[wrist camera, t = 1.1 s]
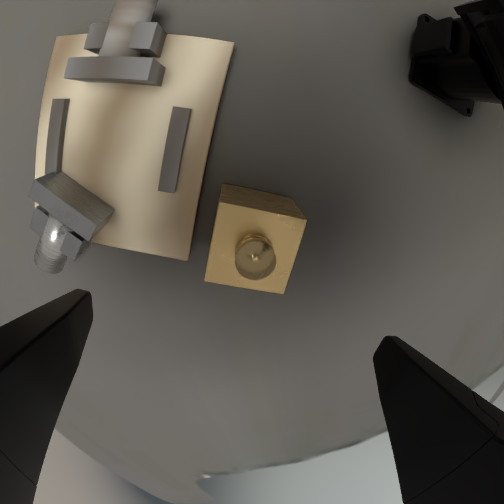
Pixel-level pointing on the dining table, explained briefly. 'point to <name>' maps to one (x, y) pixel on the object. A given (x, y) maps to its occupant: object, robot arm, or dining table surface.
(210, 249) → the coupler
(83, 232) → the shaft
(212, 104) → the cream mounting plate
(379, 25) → the dining table surface
